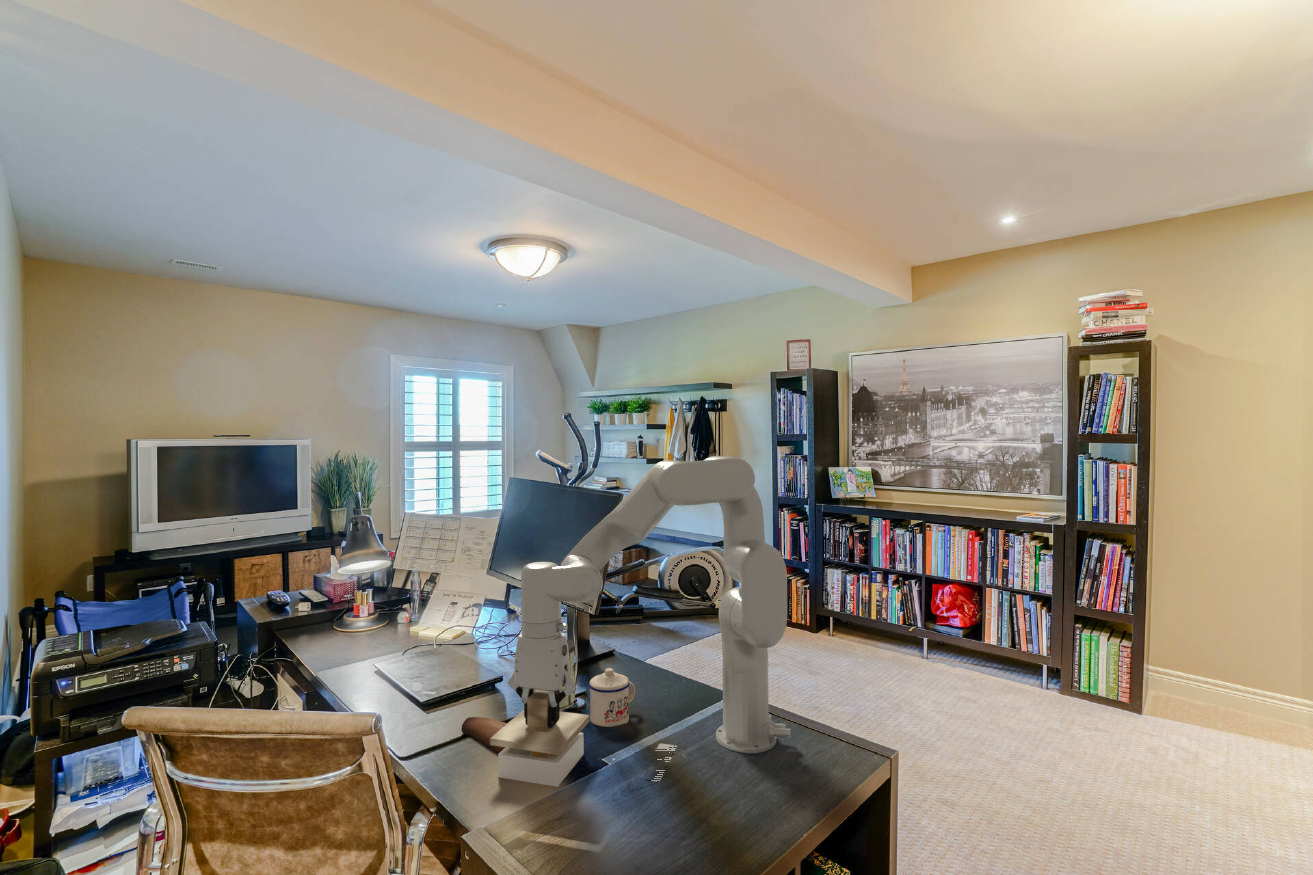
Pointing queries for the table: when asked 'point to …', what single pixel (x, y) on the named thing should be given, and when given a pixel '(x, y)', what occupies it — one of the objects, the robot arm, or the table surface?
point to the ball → (539, 754)
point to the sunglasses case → (483, 730)
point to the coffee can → (570, 699)
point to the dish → (540, 764)
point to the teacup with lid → (610, 698)
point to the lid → (540, 728)
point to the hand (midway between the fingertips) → (541, 722)
